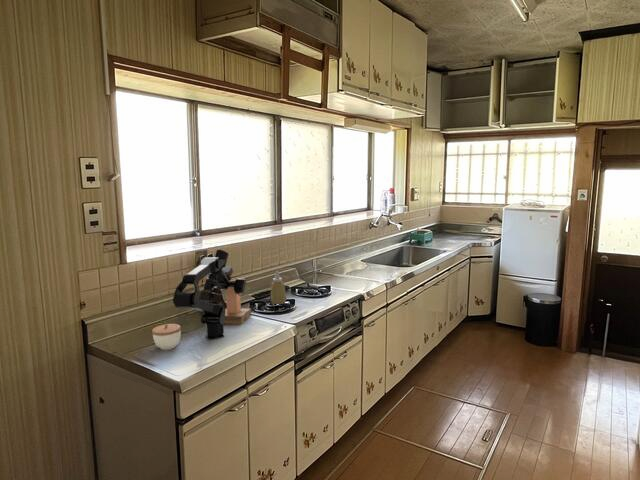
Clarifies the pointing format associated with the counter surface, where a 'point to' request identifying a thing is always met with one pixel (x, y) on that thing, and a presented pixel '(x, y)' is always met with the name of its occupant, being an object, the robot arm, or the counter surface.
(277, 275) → the squeeze bottle
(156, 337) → the lidded jar
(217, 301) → the robot arm
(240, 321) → the walnut base block
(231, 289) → the tall terracotta block
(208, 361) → the counter surface
